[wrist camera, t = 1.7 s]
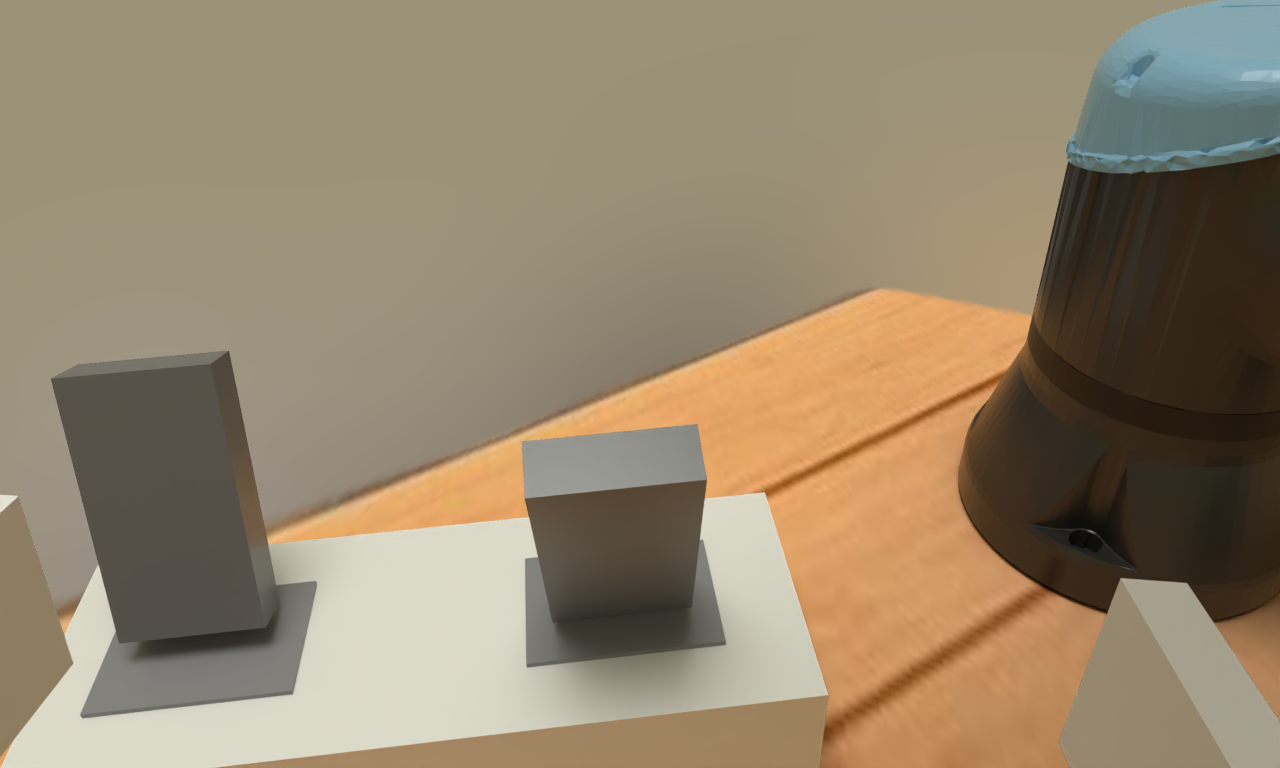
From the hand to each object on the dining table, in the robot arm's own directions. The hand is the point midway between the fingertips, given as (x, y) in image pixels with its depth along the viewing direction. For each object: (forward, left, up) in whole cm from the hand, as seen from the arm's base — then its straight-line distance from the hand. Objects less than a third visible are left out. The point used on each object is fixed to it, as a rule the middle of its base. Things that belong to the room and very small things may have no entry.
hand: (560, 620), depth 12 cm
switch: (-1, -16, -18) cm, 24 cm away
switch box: (+6, -16, -24) cm, 29 cm away
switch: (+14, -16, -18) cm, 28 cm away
